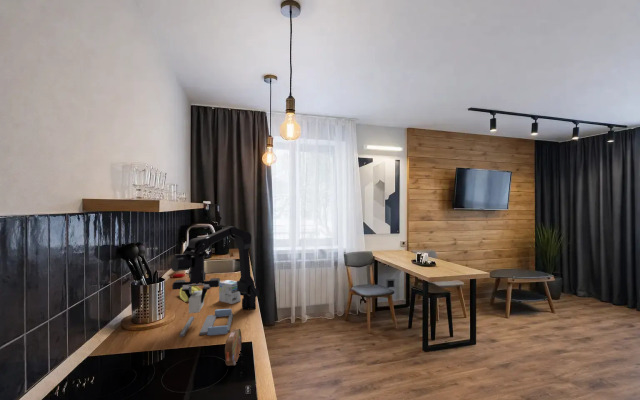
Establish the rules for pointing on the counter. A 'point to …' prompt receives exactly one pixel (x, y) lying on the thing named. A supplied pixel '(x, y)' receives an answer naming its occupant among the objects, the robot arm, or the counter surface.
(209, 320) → the grey long bars
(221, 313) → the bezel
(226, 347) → the tin
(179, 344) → the counter surface
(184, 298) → the plastic component
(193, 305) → the white rectangular prism
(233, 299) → the light bulb box
